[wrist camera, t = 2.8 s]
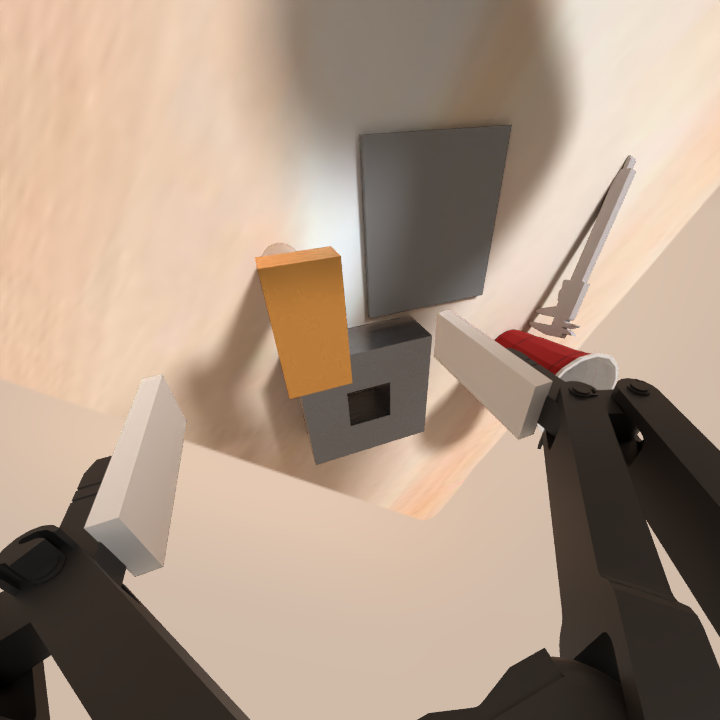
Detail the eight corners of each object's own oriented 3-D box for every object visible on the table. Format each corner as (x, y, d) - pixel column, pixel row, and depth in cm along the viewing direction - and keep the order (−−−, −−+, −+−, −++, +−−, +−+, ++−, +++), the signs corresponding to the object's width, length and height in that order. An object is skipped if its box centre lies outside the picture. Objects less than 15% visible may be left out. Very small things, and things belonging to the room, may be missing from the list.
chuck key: (246, 218, 26) (257, 269, 14) (295, 212, 26) (340, 255, 15) (268, 308, 30) (289, 399, 19) (309, 300, 31) (352, 383, 20)
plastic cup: (542, 297, 41) (635, 341, 32) (535, 360, 48) (610, 411, 38) (469, 329, 40) (543, 384, 31) (473, 388, 47) (534, 449, 37)
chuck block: (287, 341, 33) (294, 368, 29) (410, 315, 36) (431, 335, 32) (307, 434, 41) (316, 464, 37) (406, 405, 44) (424, 431, 40)
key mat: (359, 134, 25) (362, 134, 25) (507, 125, 28) (511, 124, 28) (368, 316, 34) (370, 318, 34) (479, 292, 37) (482, 294, 37)
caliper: (531, 324, 44) (569, 346, 39) (526, 323, 43) (564, 345, 38) (631, 158, 35) (698, 159, 30) (626, 154, 34) (693, 155, 29)
